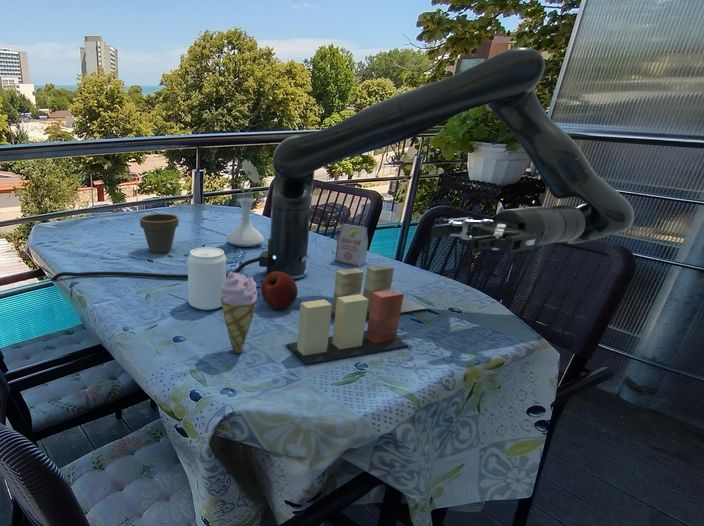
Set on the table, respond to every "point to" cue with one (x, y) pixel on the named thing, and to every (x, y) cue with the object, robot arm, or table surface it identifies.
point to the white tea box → (352, 245)
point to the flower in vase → (246, 215)
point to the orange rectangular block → (384, 316)
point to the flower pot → (159, 231)
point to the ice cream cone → (238, 307)
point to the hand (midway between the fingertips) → (451, 237)
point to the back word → (368, 286)
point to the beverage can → (206, 277)
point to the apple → (279, 290)
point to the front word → (336, 331)
